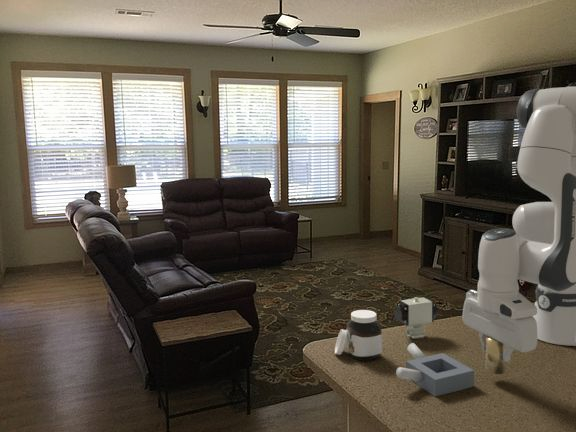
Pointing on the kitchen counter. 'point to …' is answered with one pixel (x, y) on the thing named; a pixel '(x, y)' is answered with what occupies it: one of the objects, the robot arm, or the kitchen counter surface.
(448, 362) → the coupling block
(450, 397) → the kitchen counter surface
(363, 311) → the spread jar
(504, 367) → the cylinder
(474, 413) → the kitchen counter surface
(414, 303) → the pneumatic valve
